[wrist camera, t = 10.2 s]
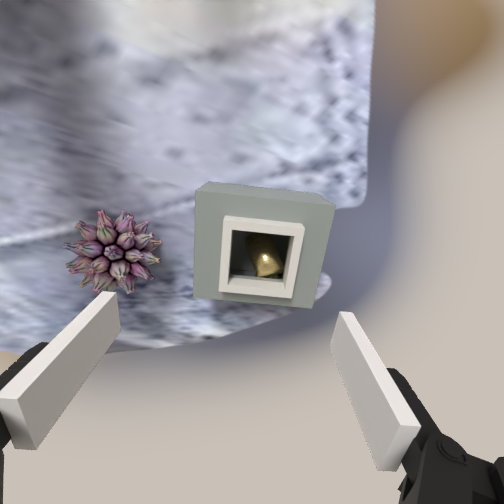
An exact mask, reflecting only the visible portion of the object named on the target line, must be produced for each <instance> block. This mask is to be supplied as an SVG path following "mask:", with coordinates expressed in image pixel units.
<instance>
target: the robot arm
mask: <svg viewBox="0 0 504 504" xmlns="http://www.w3.org/2000/svg"><path fill="white" fill-rule="evenodd" d="M120 331H121V326H120V318H119V309H118V301H117V293H116V292H107V291H102V292H101V293H100V294H99V295H98V296H97V297H96V298H95V299H94V300H93V301H92V302H91V303H90V304H89V305H88V306H87V307H86V308H85V309H84V310H83V311H82V312H81V313H80V314H79V315H78V316H77V317H76V318H75V319H74V320H73V321H72V322H71V323H70V324H69V325H67V326H66V327H65V328H64V329H63V330H62V331H61V332H60V333H59V334H58V335H57V336H56V337H55V338H54V339H53V340H52V341H51V342H50V343H47V342H41V343H39V344H38V345H36V346H34V347H33V348H31V349H29V350H28V351H26V352H25V353H24V354H23V355H22V356H21V357H20V358H19V359H18V360H17V362H14V364H12V365H11V366H10V367H9V368H8V370H6V371H5V372H3V373H2V374H1V375H0V504H3V472H4V454H3V451H2V449H3V448H4V447H5V445H6V444H7V443H8V442H9V441H10V439H11V440H12V443H13V445H14V448H15V449H26V450H36V449H37V448H38V447H39V445H40V444H41V443H42V441H43V440H44V438H45V437H46V435H47V434H48V433H49V431H50V430H51V428H52V427H53V426H54V424H55V423H56V421H57V420H58V418H59V417H60V416H61V414H62V413H63V412H64V410H65V409H66V407H67V406H68V404H69V403H70V402H71V400H72V399H73V397H74V396H75V395H76V393H77V392H78V390H79V389H80V388H81V386H82V385H83V383H84V382H85V380H86V379H87V378H88V376H89V375H90V374H91V372H92V371H93V369H94V368H95V367H96V365H97V364H98V362H99V361H100V359H101V358H102V357H103V355H104V354H105V352H106V351H107V350H108V348H109V347H110V345H111V344H112V343H113V341H114V340H115V338H116V337H117V336H118V334H119V333H120ZM330 349H331V352H332V355H333V357H334V360H335V362H336V365H337V368H338V370H339V373H340V375H341V378H342V380H343V383H344V386H345V388H346V391H347V393H348V396H349V398H350V401H351V403H352V406H353V409H354V411H355V414H356V417H357V419H358V422H359V424H360V427H361V429H362V432H363V434H364V437H365V440H366V442H367V445H368V447H369V450H370V453H371V455H372V458H373V460H374V463H375V465H376V468H377V470H378V471H397V469H398V468H399V466H400V464H401V463H402V465H403V467H404V469H405V471H406V473H407V474H406V476H405V478H404V479H403V481H402V483H401V485H400V486H399V488H398V490H399V491H400V492H401V495H400V500H399V504H504V457H499V458H498V459H497V460H496V461H495V462H494V464H493V463H490V462H488V461H485V460H482V459H480V458H477V457H474V456H472V455H469V454H467V453H466V451H465V450H464V449H463V448H462V447H461V446H460V445H459V444H458V443H457V442H456V441H454V440H453V439H452V438H450V437H448V436H446V435H444V434H442V433H441V432H440V430H439V428H438V427H437V425H436V424H435V422H434V421H433V419H432V418H431V416H430V415H429V413H428V412H427V410H426V409H425V407H424V406H423V404H422V403H421V401H420V400H419V399H418V398H417V395H416V394H415V392H414V391H413V390H412V388H411V386H410V385H409V383H408V382H407V380H406V379H405V377H404V376H402V375H401V374H400V373H399V372H398V371H397V370H396V369H394V368H385V366H384V364H383V362H382V361H381V359H380V358H379V356H378V354H377V353H376V351H375V349H374V348H373V346H372V344H371V343H370V341H369V340H368V338H367V336H366V334H365V333H364V331H363V330H362V328H361V326H360V325H359V323H358V321H357V320H356V318H355V316H354V315H353V313H352V312H339V316H338V319H337V323H336V326H335V330H334V333H333V337H332V340H331V344H330Z"/></svg>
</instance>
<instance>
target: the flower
mask: <svg viewBox="0 0 504 504" xmlns="http://www.w3.org/2000/svg"><path fill="white" fill-rule="evenodd" d="M97 213H98V221H97V227H96V226H93V225H88V224H85V223H84V222H82V221H79V223H77V225H76V226H75V227H76V228H77V229H78V230H79V231H80V233H81V235H82V236H83V237H84V239H85V240H87V241H85V240H80V241H76V242H73V243H64V246H63V247H62V248H64V249H68V250H71V251H72V252H74V253H75V254H77V255H80V256H78V257H77V258H75V259H74V260H73V261H71V262H70V263H67V264H66V266H67V267H66V268H71V267H73V268H71V269H69V272H70V273H69V274H76V273H86V274H85V276H84V279H83V281H82V282H81V283H80V284H79V285H80V287H84V286H85V285H87V284H89V283H94V289H93V292H95V293H100V291H101V290H102V289H103V288H104V291H107V292H112V291H113V290H114V289H115V288H116V286H117V284H118V285H119V286H120V287H121V288H123V289H124V290H125V291H126V292H127V294H131V293H132V294H133V292H134V290H136V288H135V282H136V279H137V276H138V277H140V278H145V279H146V280H147V279H150V280H151V281H152V280H153V279H155V278H154V276H152V275H151V273H150V271H149V269H148V267H147V266H145V265H151V264H154V263H160V262H161V261H160V260H161V259H160V258H159V257H156V256H155V255H153V254H152V253H151V251H153V250H154V249H155V248H156V247H158V246H159V245H162V240H158V241H157V240H154V234H153V233H149V234H145V233H146V231H147V227H148V225H149V224H150V223H149V222H148V221H147V220H146V221H145V222H143V223H140V224H137V225H135V224H136V222H135V221H133V218H134V216H133V215H130V214H128V215H126V211H124V210H122V211H121V214H120V216H119V217H118V218H117V219H116V221H115V223H114V221H113V220H112V219H111V218H109V216H108V215H107V214H105V212H104V210H101V211H97Z"/></svg>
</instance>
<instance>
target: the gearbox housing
mask: <svg viewBox="0 0 504 504" xmlns="http://www.w3.org/2000/svg"><path fill="white" fill-rule="evenodd" d="M335 208H336V205H334V204H333V203H331V202H330V201H328V200H327V199H325V198H324V197H322V196H321V195H319V194H317V193H308V192H299V191H290V190H281V189H272V188H263V187H254V186H245V185H236V184H227V183H218V182H207V183H206V184H204V185H203V186H201V187H200V188H198V189H197V190H196V193H195V238H194V283H193V297H195V298H206V299H216V300H227V301H237V302H248V303H258V304H269V305H279V306H290V307H300V308H312V307H313V303H314V298H315V294H316V290H317V286H318V281H319V277H320V273H321V268H322V264H323V260H324V255H325V251H326V247H327V243H328V238H329V234H330V230H331V225H332V221H333V217H334V212H335ZM254 232H259V233H269V234H270V235H271V237H272V240H273V242H274V244H275V247H276V249H277V251H278V254H279V256H280V258H281V261H282V263H283V265H284V273H283V278H281V279H271V278H260V277H256V274H255V271H254V268H253V265H252V262H251V259H250V256H249V253H248V250H247V248H246V245H245V241H246V239H247V237H248V236H249V235H251V234H252V233H254Z"/></svg>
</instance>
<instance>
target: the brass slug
mask: <svg viewBox="0 0 504 504" xmlns="http://www.w3.org/2000/svg"><path fill="white" fill-rule="evenodd" d="M245 245H246V248H247V250H248V253H249V256H250V259H251V262H252V265H253V268H254V271H255V274H256V277H260V278H271V279H281V278H283V273H284V265H283V263H282V261H281V258H280V256H279V254H278V251H277V249H276V247H275V244H274V242H273V240H272V237H271V235H270V234H269V233H259V232H254V233H252V234H251V235H249V236H248V237H247V239H246V241H245Z"/></svg>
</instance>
